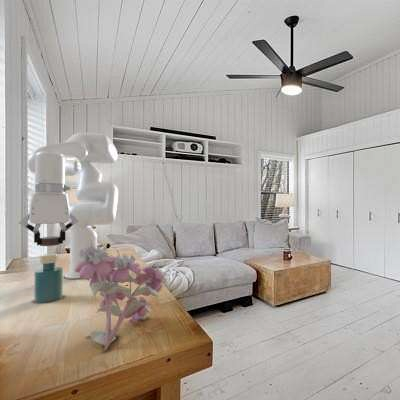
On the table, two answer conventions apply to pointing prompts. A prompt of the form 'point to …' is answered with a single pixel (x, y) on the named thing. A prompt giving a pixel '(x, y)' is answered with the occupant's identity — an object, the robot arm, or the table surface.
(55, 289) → the bottle
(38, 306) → the table surface
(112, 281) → the flower
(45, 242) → the brown round puck
